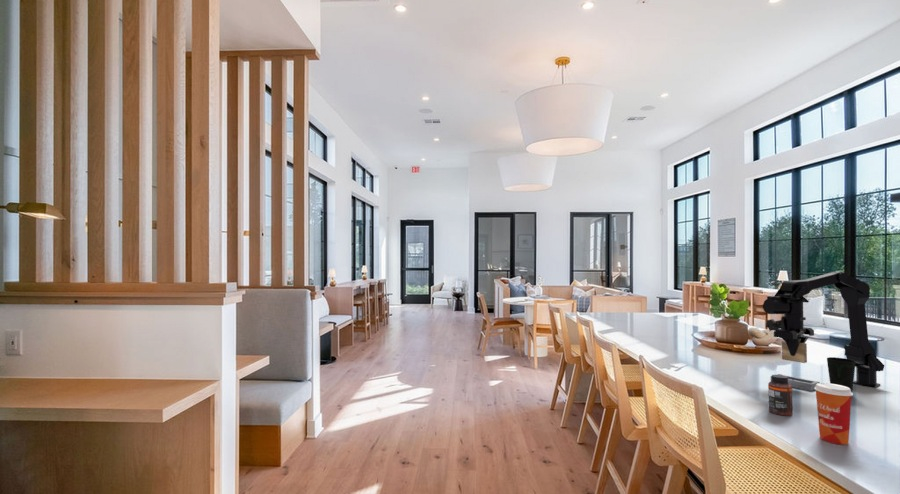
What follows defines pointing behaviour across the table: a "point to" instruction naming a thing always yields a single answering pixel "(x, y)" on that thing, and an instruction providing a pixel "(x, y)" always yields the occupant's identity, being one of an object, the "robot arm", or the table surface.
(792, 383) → the track
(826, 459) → the table surface
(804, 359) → the oak panel
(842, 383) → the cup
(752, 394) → the table surface
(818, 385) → the paper cup
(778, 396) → the supplement bottle
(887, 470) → the table surface
